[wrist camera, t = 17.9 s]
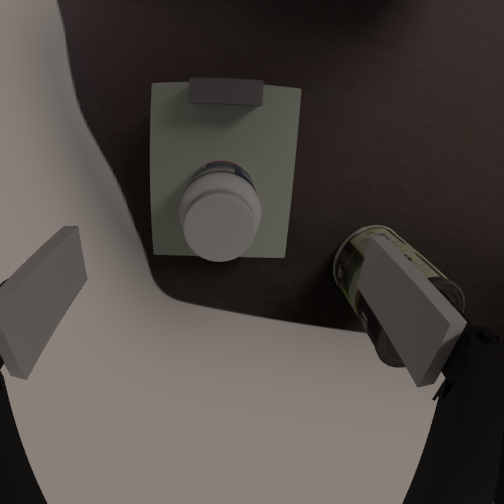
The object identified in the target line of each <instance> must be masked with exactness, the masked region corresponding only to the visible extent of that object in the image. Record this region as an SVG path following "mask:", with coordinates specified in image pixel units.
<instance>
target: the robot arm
mask: <svg viewBox="0 0 504 504" xmlns="http://www.w3.org/2000/svg"><path fill="white" fill-rule="evenodd" d="M86 281H87V276H86V270H85V265H84V259H83V254H82V248H81V242H80V235H79V228H78V226H64V227H63V228H62V229H60V230H59V231H58V232H57V233H56V234H55V235H54V236H52V237H51V238H50V239H49V240H48V241H47V242H46V243H45V244H44V245H43V246H41V247H40V248H39V249H38V250H37V251H36V252H35V253H34V254H33V255H32V256H31V257H30V258H29V259H28V260H27V261H26V262H25V263H24V264H23V265H22V266H21V267H20V268H19V269H18V270H17V271H16V272H15V273H14V274H13V275H12V276H11V277H10V278H8V279H7V280H5V281H3V282H2V283H1V285H0V369H1V368H2V366H3V364H5V366H6V368H7V369H8V371H9V373H10V375H11V376H14V377H18V378H21V379H26V380H27V379H28V377H29V375H30V373H31V371H32V369H33V367H34V365H35V363H36V362H37V360H38V358H39V356H40V355H41V353H42V351H43V349H44V348H45V346H46V344H47V342H48V341H49V339H50V337H51V336H52V334H53V332H54V331H55V329H56V327H57V326H58V324H59V322H60V321H61V319H62V318H63V316H64V314H65V313H66V311H67V310H68V308H69V307H70V305H71V303H72V302H73V300H74V299H75V297H76V296H77V294H78V293H79V291H80V290H81V288H82V287H83V285H84V284H85V282H86ZM357 287H358V289H359V290H360V292H361V293H362V295H363V297H364V298H365V300H366V301H367V303H368V305H369V306H370V308H371V309H372V311H373V313H374V314H375V316H376V317H377V319H378V321H379V322H380V324H381V326H382V327H383V329H384V330H385V332H386V334H387V335H388V337H389V339H390V340H391V342H392V344H393V346H394V347H395V349H396V351H397V352H398V354H399V356H400V357H401V359H402V361H403V363H404V364H405V366H406V368H407V370H408V371H409V373H410V375H411V377H412V378H413V380H414V382H415V384H416V386H417V387H421V386H426V385H430V384H434V383H435V381H436V379H437V378H438V376H439V374H440V373H441V371H442V373H443V375H444V376H445V380H444V382H443V383H442V385H441V387H440V388H439V390H438V391H437V393H436V394H435V396H434V397H433V400H436V398H437V397H438V396H439V398H438V402H437V406H436V410H435V413H434V417H433V421H432V424H431V427H430V431H429V434H428V437H427V441H426V444H425V447H424V450H423V453H422V455H421V458H420V461H419V464H418V467H417V469H416V472H415V475H414V477H413V480H412V482H411V485H410V487H409V490H408V492H407V494H406V497H405V499H404V501H403V503H402V504H504V341H502V340H501V338H500V336H499V335H498V334H497V333H496V332H495V331H493V330H492V329H490V328H488V327H485V326H476V327H475V326H474V325H473V324H472V323H471V321H470V320H469V319H468V318H467V317H466V316H465V315H464V314H463V312H462V311H461V310H460V309H459V308H457V306H456V305H455V304H454V303H453V302H451V299H450V298H449V297H448V296H447V295H446V294H445V293H444V292H442V291H441V290H439V289H438V288H436V287H435V286H434V285H433V284H432V283H431V282H430V281H429V280H428V279H427V278H426V277H425V276H424V275H423V274H422V273H421V272H420V271H419V270H418V269H417V268H416V267H415V266H414V265H413V264H412V263H411V262H410V261H409V260H408V259H407V258H406V257H405V256H404V255H403V254H402V253H401V252H400V251H399V250H398V249H397V248H396V247H395V246H394V245H393V244H392V243H391V242H390V241H389V240H388V239H387V238H386V237H385V236H377V235H370V236H369V241H368V245H367V250H366V254H365V258H364V262H363V266H362V270H361V274H360V278H359V282H358V286H357ZM0 504H47V502H46V500H45V498H44V496H43V494H42V491H41V489H40V487H39V485H38V483H37V480H36V478H35V476H34V473H33V471H32V469H31V466H30V464H29V461H28V458H27V456H26V453H25V450H24V448H23V445H22V442H21V439H20V436H19V433H18V429H17V426H16V423H15V420H14V416H13V413H12V409H11V406H10V402H9V398H8V394H7V389H6V385H5V381H4V377H3V375H2V373H1V371H0Z"/></svg>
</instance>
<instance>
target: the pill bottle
mask: <svg viewBox="0 0 504 504" xmlns="http://www.w3.org/2000/svg"><path fill="white" fill-rule="evenodd" d="M261 213H262V212H261V204H260V200H259V197H258V195H257V192H256V189H255V186H254V184H253V181H252V179H251V177H250V176H249V174H248V173H247V172H246V170H245V169H243V168H242V167H241V166H240V165H238V164H236V163H234V162H231V161H226V160H217V161H212V162H209V163H207V164H205V165H203V166H202V167H201V168H199V169H198V170H197V171H196V172H195V174H194V175H193V177H192V178H191V180H190V182H189V184H188V186H187V187H186V189H185V191H184V193H183V196H182V198H181V202H180V207H179V217H180V222H181V225H182V228H183V232H184V237H185V240H186V242H187V244H188V245H189V247H190V248H191V249H192V250H193V251H194V252H195V253H196V254H197V255H198V256H200V257H202V258H204V259H206V260H210V261H215V262H223V261H229V260H233V259H235V258H237V257H239V256H240V255H242V254H243V253H244V252H245V251H246V250H247V249H248V248H249V247H250V245H251V244H252V241H253V239H254V236H255V234H256V232H257V230H258V228H259V225H260V222H261Z"/></svg>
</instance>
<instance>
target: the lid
mask: <svg viewBox="0 0 504 504" xmlns="http://www.w3.org/2000/svg"><path fill="white" fill-rule="evenodd" d="M300 100H301V89H299V88H290V87H281V86H271V85H264V81H263V80H250V79H232V78H190V79H189V82H167V83H152V93H151V117H150V195H151V221H152V239H153V254H154V255H186V256H198V255H197V254H196V253H195V252H194V251H193V250H192V249H191V248H190V247H189V245H188V244H187V242H186V240H185V237H184V232H183V228H182V225H181V222H180V217H179V207H180V202H181V198H182V196H183V193H184V191H185V189H186V187H187V186H188V184H189V182H190V180H191V178H192V177H193V175H194V174H195V172H196V171H197V170H198V169H199V168H201V167H202V166H203V165H205V164H207V163H209V162H212V161H217V160H226V161H231V162H234V163H236V164H238V165H240V166H241V167H242V168H243V169H245V170H246V172H247V173H248V174H249V176H250V177H251V179H252V181H253V184H254V186H255V189H256V192H257V195H258V197H259V200H260V204H261V212H262V213H261V222H260V225H259V228H258V230H257V232H256V234H255V236H254V239H253V241H252V244H251V245H250V247H249V248H248V249H247V250H246V251H245V252H244V253H243V254H242V255H240V256H239V257H266V258H284V257H285V249H286V241H287V232H288V223H289V214H290V205H291V196H292V187H293V177H294V167H295V157H296V146H297V135H298V124H299V112H300Z"/></svg>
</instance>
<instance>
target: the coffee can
mask: <svg viewBox="0 0 504 504" xmlns="http://www.w3.org/2000/svg"><path fill="white" fill-rule="evenodd" d="M370 235H377V236H385V237H386V238H387V239H388V240H389V241H390V242H391V243H392V244H393V245H394V246H395V247H396V248H397V249H398V250H399V251H400V252H401V253H402V254H403V255H404V256H405V257H406V258H407V259H408V260H409V261H410V262H411V263H412V264H413V265H414V266H415V267H416V268H417V269H418V270H419V271H420V272H421V273H422V274H423V275H424V276H425V277H426V278H427V279H428V280H429V281H430V282H431V283H432V284H433V285H434V286H435V287H436V288H438V289H439V290H441V291H442V292H444V293H445V294H446V295H447V296H448V297H449V298H450V299H451V302H453V303H454V304H455V305H456V306H457V308H459V309H460V310H461V311H462V312H464V306H465V301H464V295H463V292H462V290H461V289H460V287H459V286H458V285H456V284H455V283H454V282H452V281H451V280H449V279H448V278H447V277H445V276H444V275H443V274H442V273H441V272H440V271H439V270H438V269H437V268H436V267H434V266H433V265H432V264H431V263H430V262H429V261H428V260H426V259H425V258H424V257H423V256H422V255H421V254H420V253H419V252H417V251H416V250H415V249H414V248H412V247H411V246H410V245H409V244H408V243H406V242H405V241H404V240H403V239H402V238H400V237H399V236H398V235H397V234H396V233H395V232H394V231H393V230H392V229H390V228H388V227H386V226H382V225H371V226H366V227H363V228H361V229H359V230H357V231H355V232H353V233H352V234H351V235H350V236H348V237H347V238H346V239H345V241H344V242H343V243H342V244H341V246H340V247H339V249H338V251H337V253H336V255H335V258H334V263H333V275H334V278H335V281H336V283H337V285H338V286H339V288H340V289H341V290H342V292H343V293H344V295H345V296H346V298H347V300H348V301H349V303H350V305H351V306H352V308H353V310H354V312H355V313H356V315H357V317H358V318H359V320H360V322H361V324H362V325H363V327H364V329H365V331H366V332H367V334H368V336H369V337H370V339H371V341H372V342H373V344H374V346H375V349H376V352H377V354H378V356H379V358H380V359H381V361H382V362H384V363H385V364H387V365H388V366H392V367H406V366H405V364H404V363H403V361H402V359H401V357H400V356H399V354H398V352H397V351H396V349H395V347H394V346H393V344H392V342H391V340H390V339H389V337H388V335H387V334H386V332H385V330H384V329H383V327H382V326H381V324H380V322H379V321H378V319H377V317H376V316H375V314H374V313H373V311H372V309H371V308H370V306H369V305H368V303H367V301H366V300H365V298H364V297H363V295H362V293H361V292H360V290H359V289H358V287H357V286H358V282H359V278H360V274H361V270H362V266H363V262H364V258H365V254H366V250H367V245H368V241H369V236H370Z"/></svg>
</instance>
